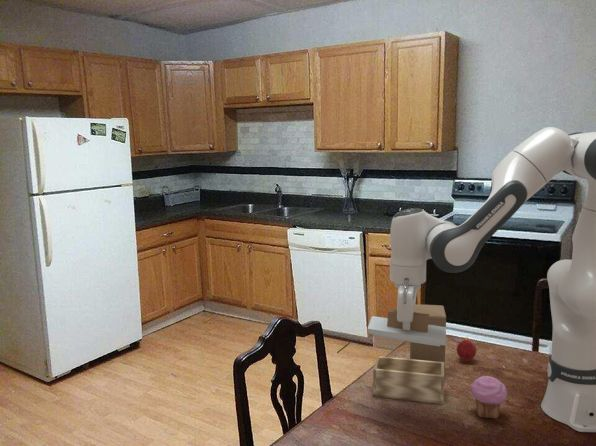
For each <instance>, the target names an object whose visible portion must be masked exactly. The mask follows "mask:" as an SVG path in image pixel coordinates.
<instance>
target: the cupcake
mask: <svg viewBox="0 0 596 446" xmlns="http://www.w3.org/2000/svg"><path fill="white" fill-rule="evenodd" d="M469 389H470V390H469V391H470V394H471V396H472V397H473V398H474V399H475V404H476V413H477V414H476V415H478V416H479V417H481V418H486V419H493V420H496V419H498V418H499V414H500V411H501V410H500V408H501V404H502V403H504V401H506V399H507V397H508V394H507V392H508V391H507V388H506V386H505V384H504V383H503V382H501V381H500V380H499V379H497V378H495V377H494V376H489V375H482V376H479V377H478V378H476V379H475V380H473V382H472V383H471V385H470V387H469Z"/></svg>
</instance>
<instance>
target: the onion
mask: <svg viewBox="0 0 596 446" xmlns="http://www.w3.org/2000/svg"><path fill="white" fill-rule="evenodd" d="M456 353H457V355H458V357H459V358H460V359H461V360H462V361H463V362H469V361H471V360H473V359H474V358H475V357H476V354H477V347H476V346H475V344H474V343H473V342H472V341H471V340H469V337H467V336H466V337H465V338H464V340H462V341H460V342H459V343H458V344H457V347H456Z"/></svg>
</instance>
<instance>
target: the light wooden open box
mask: <svg viewBox="0 0 596 446" xmlns="http://www.w3.org/2000/svg"><path fill="white" fill-rule="evenodd" d="M372 372H373V373H372V381H373V382H372V385H373V386H372V390H373V391H372V392H373V393H372V395H373V396H372V397H375V398H386V399H393V400H403V401H411V402H421V403H429V404H438V405H444V403H445V402H444V400H445V398H444V397H445V393H444V392H445V378H444V362H436V361H425V360H415V359H410V358H401V357H391V356H379V355H377V356H376V358H375V362H374V366H373V371H372Z"/></svg>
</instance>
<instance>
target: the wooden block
mask: <svg viewBox="0 0 596 446" xmlns="http://www.w3.org/2000/svg"><path fill="white" fill-rule="evenodd" d="M414 312H417V313H424V314H429V322H428V325H435V326H441V327H446V328H447V314H446V311H445V307H444V305H438V304H419V303H418V304H416V303H415V308H414ZM409 359H415V360H425V361H436V362H444V379H446V378H445V377H446V376H445V375H446V374H445V373H446V346H445V345H440V347H439V346H433V345H427V344H420V343H414V342H409Z"/></svg>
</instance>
